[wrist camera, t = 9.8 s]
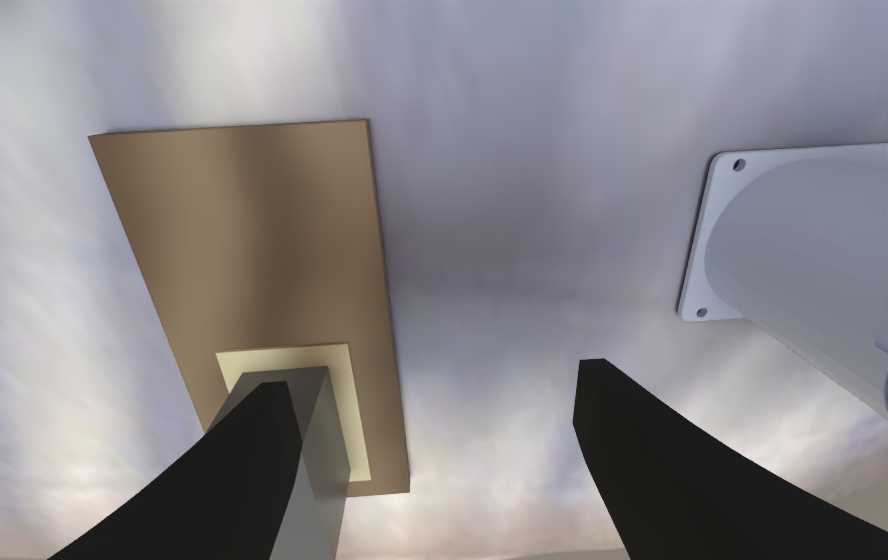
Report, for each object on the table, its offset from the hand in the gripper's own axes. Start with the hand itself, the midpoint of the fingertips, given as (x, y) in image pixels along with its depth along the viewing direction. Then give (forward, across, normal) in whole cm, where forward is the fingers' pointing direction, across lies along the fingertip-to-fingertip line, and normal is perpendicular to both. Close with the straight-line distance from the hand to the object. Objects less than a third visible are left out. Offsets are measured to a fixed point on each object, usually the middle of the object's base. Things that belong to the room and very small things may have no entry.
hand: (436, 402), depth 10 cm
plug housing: (+8, +7, +8) cm, 14 cm away
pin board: (+9, +7, +4) cm, 12 cm away
